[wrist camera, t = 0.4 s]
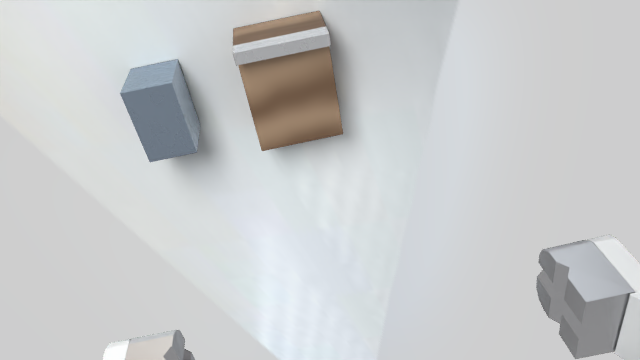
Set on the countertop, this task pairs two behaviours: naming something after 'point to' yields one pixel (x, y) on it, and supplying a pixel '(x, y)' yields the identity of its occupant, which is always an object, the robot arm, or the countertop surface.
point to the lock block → (161, 110)
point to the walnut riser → (288, 79)
